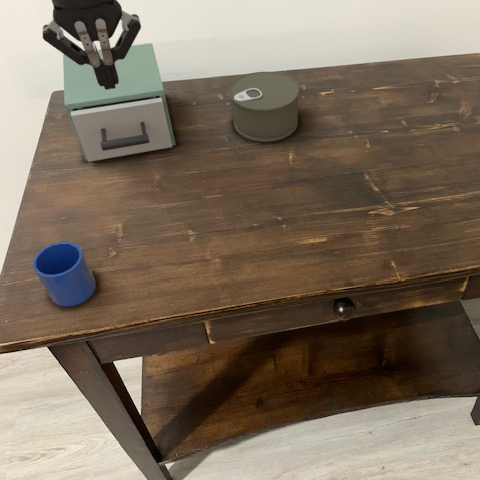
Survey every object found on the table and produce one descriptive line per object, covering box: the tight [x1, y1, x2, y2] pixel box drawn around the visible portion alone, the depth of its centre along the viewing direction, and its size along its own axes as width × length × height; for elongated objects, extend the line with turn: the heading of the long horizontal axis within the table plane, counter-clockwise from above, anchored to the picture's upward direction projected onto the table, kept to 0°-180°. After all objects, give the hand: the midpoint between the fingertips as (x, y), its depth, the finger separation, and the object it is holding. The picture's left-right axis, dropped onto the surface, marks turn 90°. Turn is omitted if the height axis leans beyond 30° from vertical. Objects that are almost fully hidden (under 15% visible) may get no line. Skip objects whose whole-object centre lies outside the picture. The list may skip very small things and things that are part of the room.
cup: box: [32, 241, 97, 307], centre depth 68 cm, size 6×6×6 cm
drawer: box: [71, 96, 174, 163], centre depth 88 cm, size 20×14×9 cm
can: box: [228, 71, 300, 143], centre depth 94 cm, size 12×12×7 cm
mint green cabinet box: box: [62, 42, 176, 162], centre depth 91 cm, size 16×15×11 cm
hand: (109, 86), depth 77 cm, fingers closed
